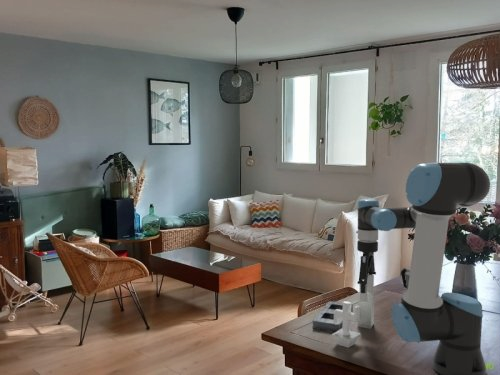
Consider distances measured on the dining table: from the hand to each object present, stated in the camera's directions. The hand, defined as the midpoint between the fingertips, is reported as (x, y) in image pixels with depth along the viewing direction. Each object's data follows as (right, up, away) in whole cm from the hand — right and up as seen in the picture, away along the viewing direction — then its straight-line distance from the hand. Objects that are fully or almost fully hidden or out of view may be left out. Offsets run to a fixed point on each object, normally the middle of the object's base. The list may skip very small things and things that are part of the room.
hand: (366, 296), depth 187 cm
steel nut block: (0, -11, +2) cm, 12 cm away
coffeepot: (+24, -10, +20) cm, 33 cm away
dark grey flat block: (-11, -11, +8) cm, 17 cm away
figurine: (-11, -13, -15) cm, 23 cm away
